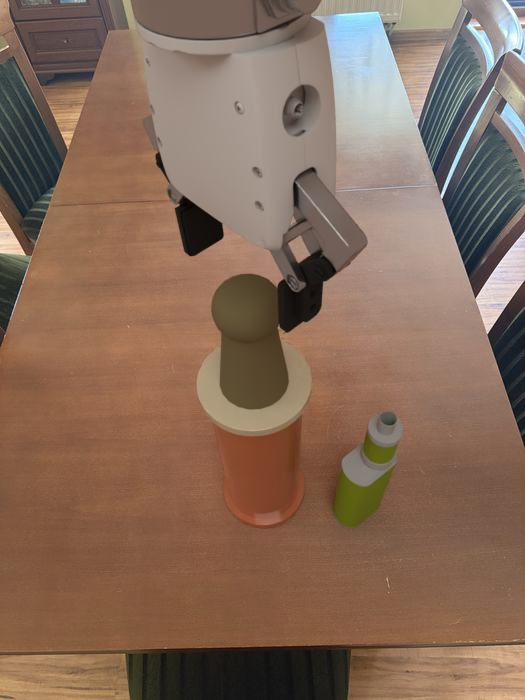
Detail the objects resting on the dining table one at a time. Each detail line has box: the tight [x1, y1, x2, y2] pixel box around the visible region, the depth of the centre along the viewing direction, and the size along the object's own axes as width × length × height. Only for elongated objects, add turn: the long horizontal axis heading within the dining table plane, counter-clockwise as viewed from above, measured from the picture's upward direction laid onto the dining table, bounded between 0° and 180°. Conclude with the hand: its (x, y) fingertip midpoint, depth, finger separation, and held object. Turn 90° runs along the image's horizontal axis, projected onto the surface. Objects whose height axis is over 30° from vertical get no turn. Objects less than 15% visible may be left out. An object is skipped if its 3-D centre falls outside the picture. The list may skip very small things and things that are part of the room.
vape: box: [332, 410, 404, 529], centre depth 53 cm, size 4×6×20 cm, turn 127°
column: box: [196, 339, 313, 529], centre depth 54 cm, size 10×10×24 cm
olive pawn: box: [210, 273, 289, 410], centre depth 40 cm, size 6×6×11 cm
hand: (249, 279), depth 34 cm, fingers open, 9 cm apart
